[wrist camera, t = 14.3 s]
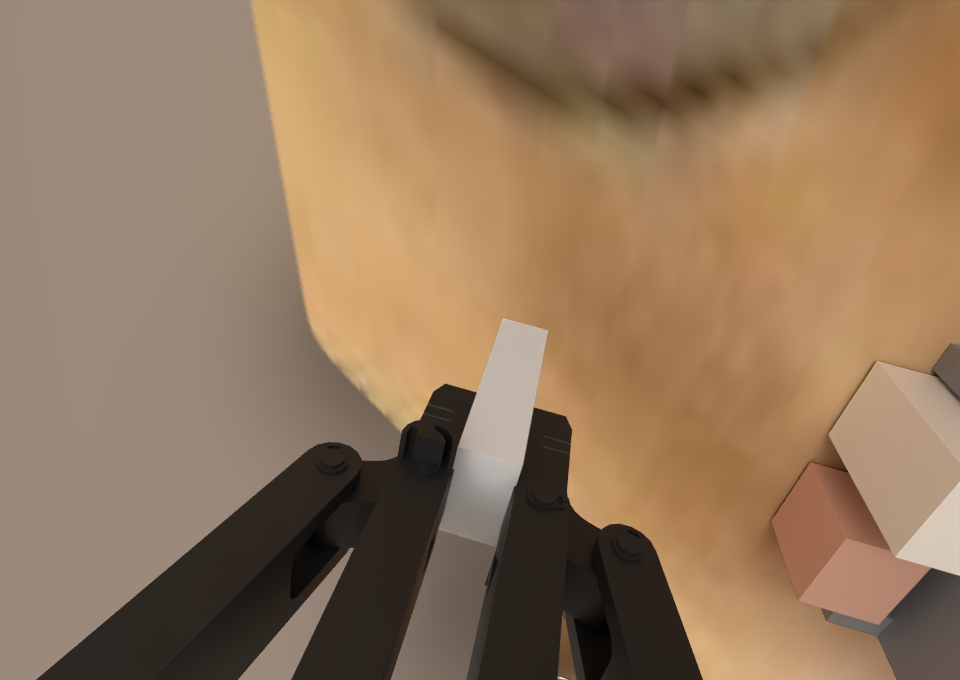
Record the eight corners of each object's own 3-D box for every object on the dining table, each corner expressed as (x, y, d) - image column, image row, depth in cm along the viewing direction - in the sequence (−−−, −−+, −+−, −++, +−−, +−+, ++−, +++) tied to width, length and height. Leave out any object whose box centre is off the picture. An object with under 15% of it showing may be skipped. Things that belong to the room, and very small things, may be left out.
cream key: (877, 360, 41) (967, 472, 31) (961, 383, 41) (1082, 504, 31) (828, 434, 45) (894, 556, 35) (905, 456, 44) (996, 586, 34)
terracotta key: (810, 462, 46) (846, 538, 39) (885, 483, 46) (934, 563, 39) (771, 521, 50) (797, 600, 43) (840, 541, 49) (878, 624, 43)
